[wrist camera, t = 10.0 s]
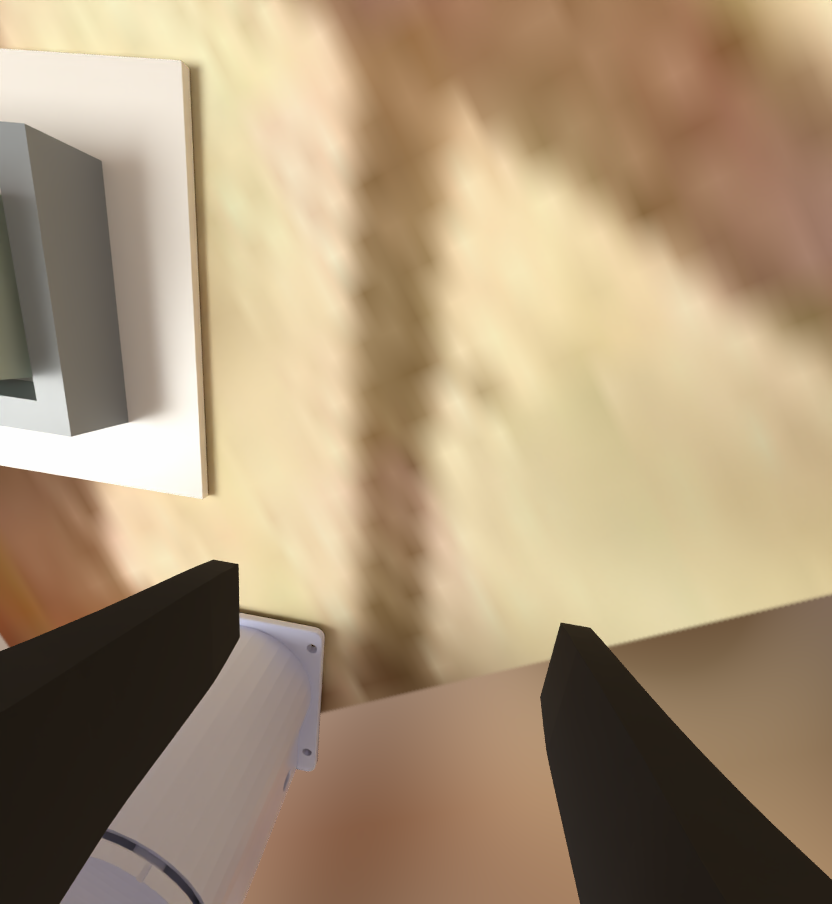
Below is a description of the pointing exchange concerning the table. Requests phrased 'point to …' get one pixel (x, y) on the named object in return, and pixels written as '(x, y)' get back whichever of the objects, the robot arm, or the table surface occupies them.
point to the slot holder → (103, 270)
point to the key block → (10, 314)
